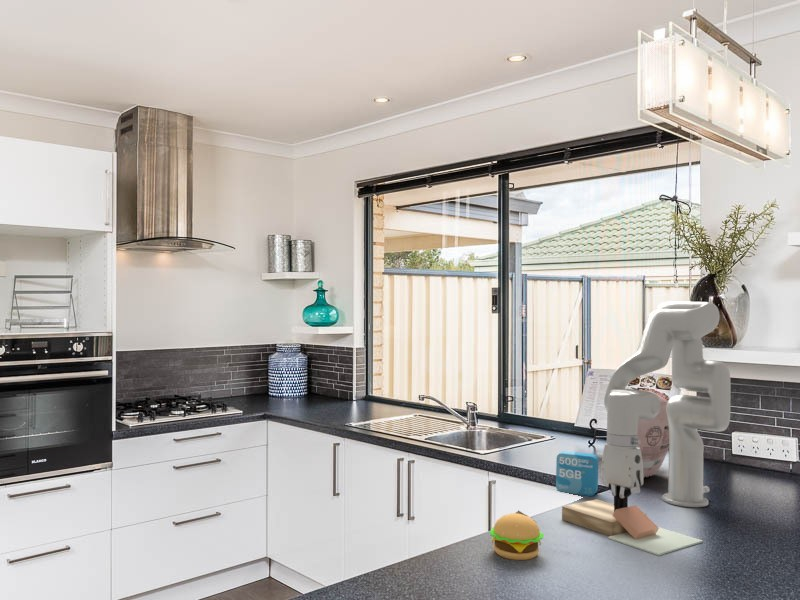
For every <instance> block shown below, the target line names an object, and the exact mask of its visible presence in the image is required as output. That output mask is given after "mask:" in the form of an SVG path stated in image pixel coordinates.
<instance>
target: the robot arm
mask: <svg viewBox="0 0 800 600" xmlns="http://www.w3.org/2000/svg"><path fill="white" fill-rule="evenodd" d="M719 322H720V310H719V307H718V306H717V305H716V304H715V303H714V302H709V301H685V300H684V301H678V300H677V301H666V302H662V303H660V304H658V306H657V308H656V310H654V311H652V312H651V313H649V316H648V318H647V320H646V323H645V326H644V328H643V331H642V336H641V338H640V341H639V343H638V346H637V349H636V352H635V353H634V354H633V355H632V356H630V357H629V358H627V359H626V360H625V361H623V362H622V363H621V364H620V366H618V367H617V368H616V369H615V370H614V372H613V373H612V374H611V377H610V379H609V380H608V384H607V387H606V391H605V394H604V397H603V398H604V399H603V404H604V405H603V406H604V409H605V410H606V414H607V415H606V442H607V443H606V442H605V444H604V447H603V451H602V458H601V467H600V468H601V471H600V472H601V479H602V484H603V486H605V487H607V488H609V490H610V491H611V495H612V497H613V504H614V512H615V510H616V509H620V508H625V507H629V505H628V503H629V501H628V499H629V498H630V496H631V495H632V494H640V493H641V487H642V486H643V485H644V478H643V461H642V454H641V450H640V448H639V447H637V444H638V445H640V443H641V440H640V439H638V436H637V434H638V419H644V420H649V419H652V418H654V417H656V416H657V415H658V413H659V411H660V408H661V403H660V400H659V398H658V396H657V395H656V394H657V393H656V394H654V393H655V392H654V393H652V392H653V391H651V392H649V391H650V390H641V389H640V390H639V389H633V388H632V389H631V388H627V386H628V385H630V383H631V382H632V381H634V380H635V379H636V378H638V377H641V376H644V375H648V374H649V373H652V372H656V371H658V370H661V369H663V368H665V367H666V366H667V365H668V362H669V360H670V356H671V381H672V384H673V386H674V388H676V389H678V390H681V391H687V392H696V393H697V392H698V393H707V394H708V395H709V397H707V396H699V395H688V394H677V395H673V396H671V397H670V398H669V399H668V400H667V405H666V414H667V420H668V426H669V448H668V482H667V483H668V488H667V490H668V491H667V492H666V493H663V495H662V500H663V501H664V502H666V503H668V504H671V505H674V506H675V505H676V506H679V507H686V508H703V507H707V506H708V505H709V499H707V498H706V497H704V494H706V493H709V492H710V487H709V486H708V485H704V450H705V449H704V447H705V446H704V440H703V439H702V437H701V435H700V433H699V432H698V430H703V431H710V432H717V433H718V432H724V431H726V430H727V429H728V427H729V426H730V422H731V421H730V420H731V399H732V398H731V395H732V394H731V389H732V388H731V387H732V383H731V373H730V370H729V367H728V366H727V365H726V364H725V363H724V362H723V361H719V360H712V359H708V360H707V359H704V355H703V354H704V352H703V350H704V348H703V347H704V346H703V340H702V338H703V337H705V336H706V335H708V334H710V333H712V332H714V330H715V329H716V328H717V326H718V325H719Z"/></svg>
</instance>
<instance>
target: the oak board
mask: <svg viewBox="0 0 800 600" xmlns="http://www.w3.org/2000/svg"><path fill="white" fill-rule="evenodd" d="M613 513H614V503H610V502H607V501H603V500H601V499H592V500H587V501H582V502H577V503H572V504H567V505H562V507H561V520H562V521H565V522H567V523H570V524H574V525H576V526H580V527H582V528H586V529H588V530H591V531H595V532H597V533H600V534H603V535H606V536H608V537H609V536H613V535H617V534H621V533H624V532H628V531H627V530H626V529H625V528H624V527H623V526H622V525H621V524H620V523H619V522H618V521H617V520H616V519H615V518H614V517H613ZM643 513H644V512H643ZM644 514H645V515H646V516H647V513H644Z"/></svg>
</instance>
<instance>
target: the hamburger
mask: <svg viewBox="0 0 800 600" xmlns="http://www.w3.org/2000/svg"><path fill="white" fill-rule="evenodd" d="M525 515H526V514H525ZM525 515H522V514H517V513H516V512H514V513H508V514H505V515H502V516H501V517H499V518H498V519H497V520H496V522H495V523H494V526H493V527H492V528H491V530H490V531H489V533H490V536H492V537H491V539H490V541H491V544H493V550H494V551H495V553H496V554H497V555H499V556H500V557H502V558H504V559H505V558H506V559H510V560H516V561H517V560H518V561H526V560H531V559H533V558H535V557H537V556H538V554H539V552H540V549H539V546H541V545H542V542H541V540H543V539H544V533H542V532H541V531H540V527H539V526H538V522H537V521H536V520H534V519H533V518H531V517H530V516H529V517H528V515H527V516H525ZM532 519H533V520H532ZM536 522H537V523H536Z"/></svg>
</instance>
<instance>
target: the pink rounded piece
mask: <svg viewBox="0 0 800 600" xmlns="http://www.w3.org/2000/svg"><path fill="white" fill-rule="evenodd" d="M648 391H649V392H652V393H654V394H656V395H657V396H658V398H659V400H660V403H661V408H660V411H659V413H658V415H657V416H656V417H654V418H652V419H649V420H644V419H638V434H637V436H638V439H640V440H641V443H640V445H638V444H637V447H639V448H640V450H641V454H642V461H643V479H644V478H645V477H646V478H650V477H652V476H654V475H655V474H656V473H657V472H658V471H659V470H660V468H661V467H662V465H663V463H664V461H665V458H666V456H667V454H668V452H669V426H668V420H667V414H666V405H667V402H668V400H666V399H665V398H664V397H662V396H661V395H660V394H658V393H656V392H653V391H651V390H648ZM606 443H607V441H606V442H605V444H606ZM649 476H650V477H649ZM646 478H645V479H646Z"/></svg>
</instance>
